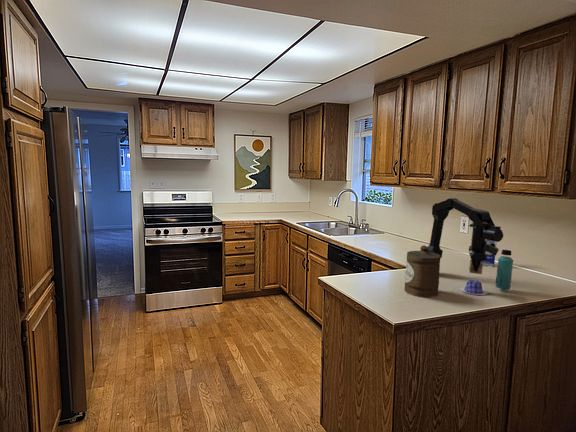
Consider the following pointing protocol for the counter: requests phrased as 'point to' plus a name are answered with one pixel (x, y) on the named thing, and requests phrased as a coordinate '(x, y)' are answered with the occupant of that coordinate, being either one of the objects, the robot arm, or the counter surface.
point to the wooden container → (422, 273)
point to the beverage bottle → (504, 271)
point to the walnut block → (473, 268)
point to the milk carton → (489, 256)
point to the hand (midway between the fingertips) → (475, 270)
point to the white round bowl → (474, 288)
